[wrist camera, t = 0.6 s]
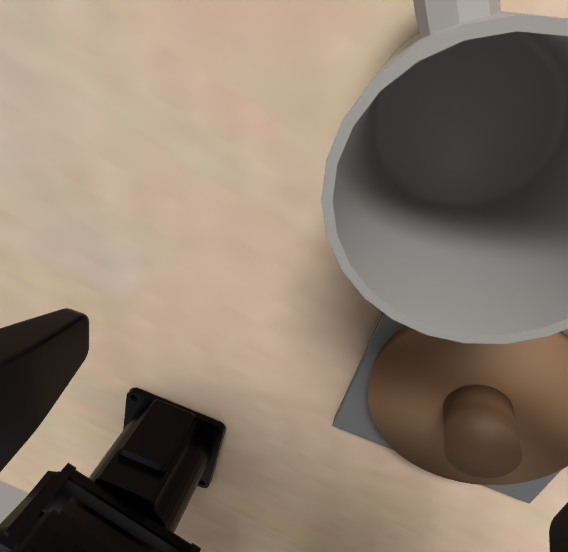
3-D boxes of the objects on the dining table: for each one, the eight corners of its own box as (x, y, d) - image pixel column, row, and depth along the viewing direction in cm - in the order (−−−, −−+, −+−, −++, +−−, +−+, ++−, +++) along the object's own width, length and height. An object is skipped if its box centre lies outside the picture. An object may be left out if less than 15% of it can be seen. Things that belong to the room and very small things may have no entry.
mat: (527, 493, 26) (529, 503, 25) (334, 417, 27) (332, 425, 26) (665, 344, 20) (671, 353, 19) (410, 254, 21) (409, 260, 20)
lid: (525, 494, 25) (537, 560, 22) (344, 422, 26) (332, 476, 23) (650, 358, 19) (689, 420, 17) (416, 273, 20) (413, 318, 18)
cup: (388, 227, 20) (361, 356, 13) (326, -37, 16) (237, -70, 9) (581, 191, 18) (688, 328, 10) (564, -134, 14) (721, -297, 6)
